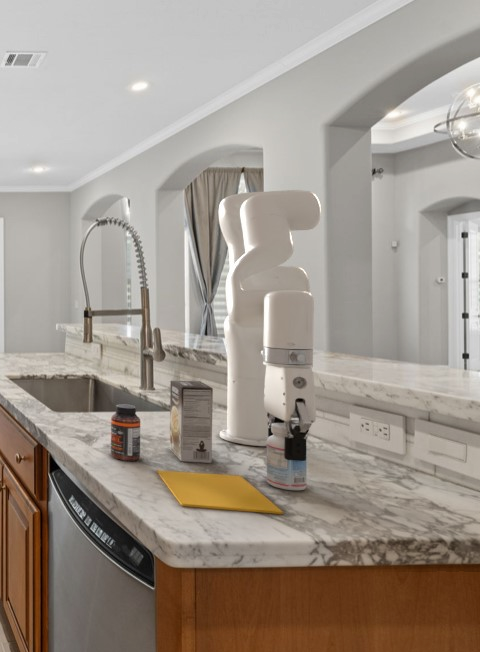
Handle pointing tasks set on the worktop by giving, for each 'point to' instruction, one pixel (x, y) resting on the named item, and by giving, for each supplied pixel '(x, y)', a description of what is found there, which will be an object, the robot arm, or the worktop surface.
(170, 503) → the worktop surface
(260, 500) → the cloth
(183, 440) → the coffee box
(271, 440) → the pill bottle
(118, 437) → the supplement bottle
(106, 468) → the worktop surface
